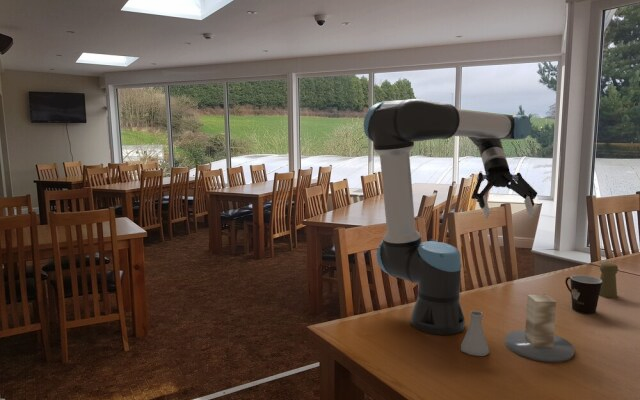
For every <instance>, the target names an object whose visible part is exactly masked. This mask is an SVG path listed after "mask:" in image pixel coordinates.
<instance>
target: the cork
mask: <svg viewBox="0 0 640 400" xmlns="http://www.w3.org/2000/svg"><path fill="white" fill-rule="evenodd" d="M599 271H600V272H601V273H600V276H599V279H601V280H602V285H601V290H600V294H599V297H603V298H609V299H610V298H611V299H614V298H617V297H618V289H617V274H618V273H619V272H618V271H619V268H618V265H616V264H615V263H611V262H602V263H601V264H600V266H599Z"/></svg>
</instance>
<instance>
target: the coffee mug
mask: <svg viewBox="0 0 640 400" xmlns="http://www.w3.org/2000/svg"><path fill="white" fill-rule="evenodd" d="M569 280H570V286H569V284H568V282H569ZM601 285H602V280H601V279H600V277H599V278H598V277H595V276H592V275H591V276H590V275H586V274H585V275H583V274H574V275H570V276H568V277H566V278H565V286H566V288H567V289H568V291H569V292H570V295H571V309H572V310H573V311H575V312H576V313H580V314H586V315H591V314H595V313H597V312H596V311H597V307H598V302H599V298H600V296H599V294H600V290H601Z"/></svg>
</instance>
